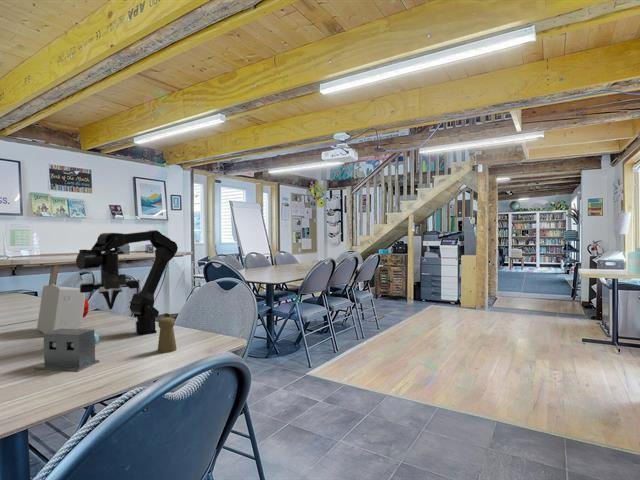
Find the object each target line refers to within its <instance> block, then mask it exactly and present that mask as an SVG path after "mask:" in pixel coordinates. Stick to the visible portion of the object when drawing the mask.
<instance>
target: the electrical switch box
mask: <svg viewBox="0 0 640 480" xmlns="http://www.w3.org/2000/svg"><path fill="white" fill-rule="evenodd" d="M89 308H90V307H89V302H88V299H86V295H85V293H80V287H72V286H71V287H70V286H57V285H56V284H53V283H51V284H48V285H46V284H45V285H43V286H42V293H41V299H40V305H39V312H38V319H37V320H38V321H37V326H36V329H37V330H38V331H40V332H41V334H42V333H43V334H44V333H47V332H51V331H54V330H58V329H80V327H81V325H82V324H83V319H85V317H86V316H88V314H89Z"/></svg>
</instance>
